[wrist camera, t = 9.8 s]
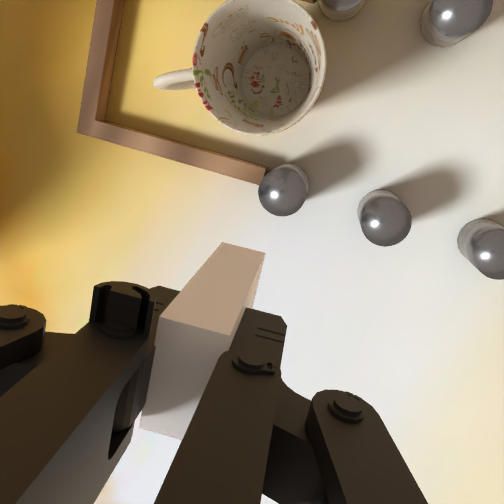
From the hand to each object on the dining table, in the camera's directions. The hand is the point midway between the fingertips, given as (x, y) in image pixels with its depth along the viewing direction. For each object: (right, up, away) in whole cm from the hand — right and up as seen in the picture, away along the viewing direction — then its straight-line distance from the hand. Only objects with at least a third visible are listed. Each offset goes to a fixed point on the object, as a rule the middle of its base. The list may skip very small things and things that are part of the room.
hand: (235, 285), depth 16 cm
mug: (0, +15, +23) cm, 27 cm away
